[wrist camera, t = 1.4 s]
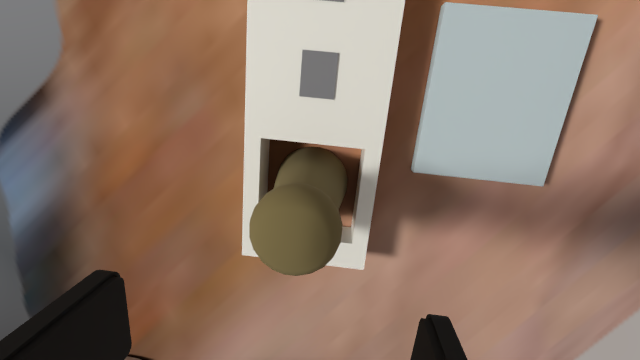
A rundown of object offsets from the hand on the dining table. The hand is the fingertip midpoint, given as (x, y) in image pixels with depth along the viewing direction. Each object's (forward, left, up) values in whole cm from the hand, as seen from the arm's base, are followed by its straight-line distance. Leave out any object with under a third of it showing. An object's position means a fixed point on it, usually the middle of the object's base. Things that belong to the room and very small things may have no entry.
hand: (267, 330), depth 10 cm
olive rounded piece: (0, 0, -17) cm, 17 cm away
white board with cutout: (+6, 0, -17) cm, 18 cm away
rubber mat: (+8, -13, -17) cm, 23 cm away
